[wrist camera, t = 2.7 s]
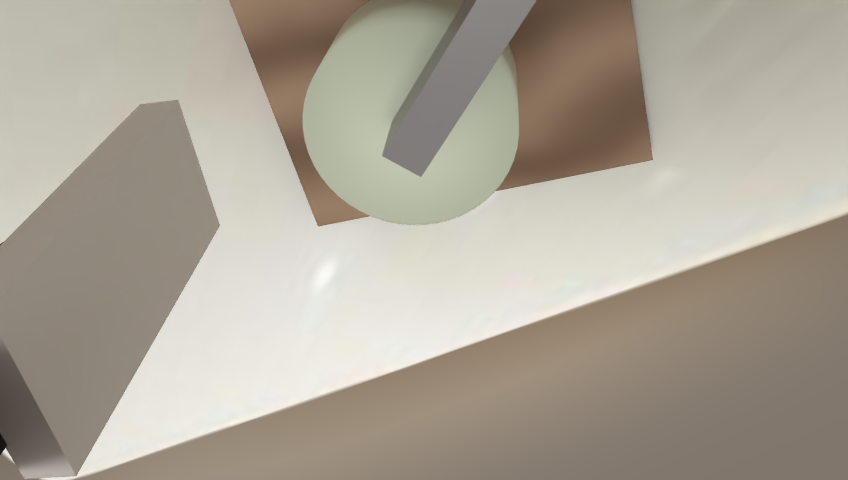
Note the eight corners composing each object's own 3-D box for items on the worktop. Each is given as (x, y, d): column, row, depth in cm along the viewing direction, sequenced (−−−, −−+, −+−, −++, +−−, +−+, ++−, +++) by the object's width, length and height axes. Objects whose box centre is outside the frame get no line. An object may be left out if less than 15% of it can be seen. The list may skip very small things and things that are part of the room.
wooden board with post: (192, -123, 40) (120, -91, 33) (593, -246, 36) (617, -242, 28) (322, 213, 50) (290, 299, 42) (648, 148, 46) (677, 229, 38)
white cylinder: (454, 200, 38) (443, 299, 31) (295, 113, 36) (248, 198, 30) (641, -71, 31) (679, -18, 24) (455, -194, 29) (441, -174, 23)
